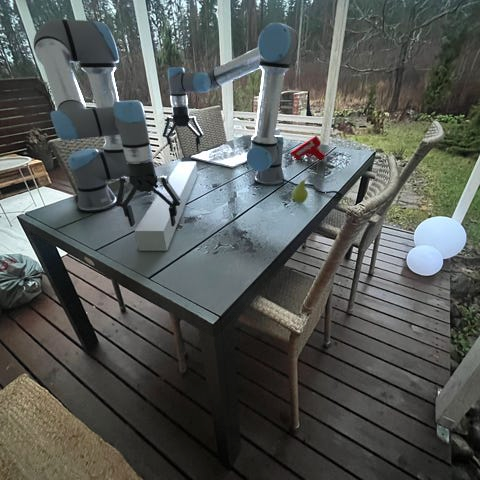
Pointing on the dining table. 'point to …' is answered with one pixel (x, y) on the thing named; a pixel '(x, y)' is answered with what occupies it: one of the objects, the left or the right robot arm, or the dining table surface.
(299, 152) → the toy gun
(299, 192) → the fruit
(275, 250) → the dining table surface
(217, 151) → the relief map
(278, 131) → the ink box
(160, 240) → the long white beam
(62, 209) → the dining table surface
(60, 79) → the left robot arm
